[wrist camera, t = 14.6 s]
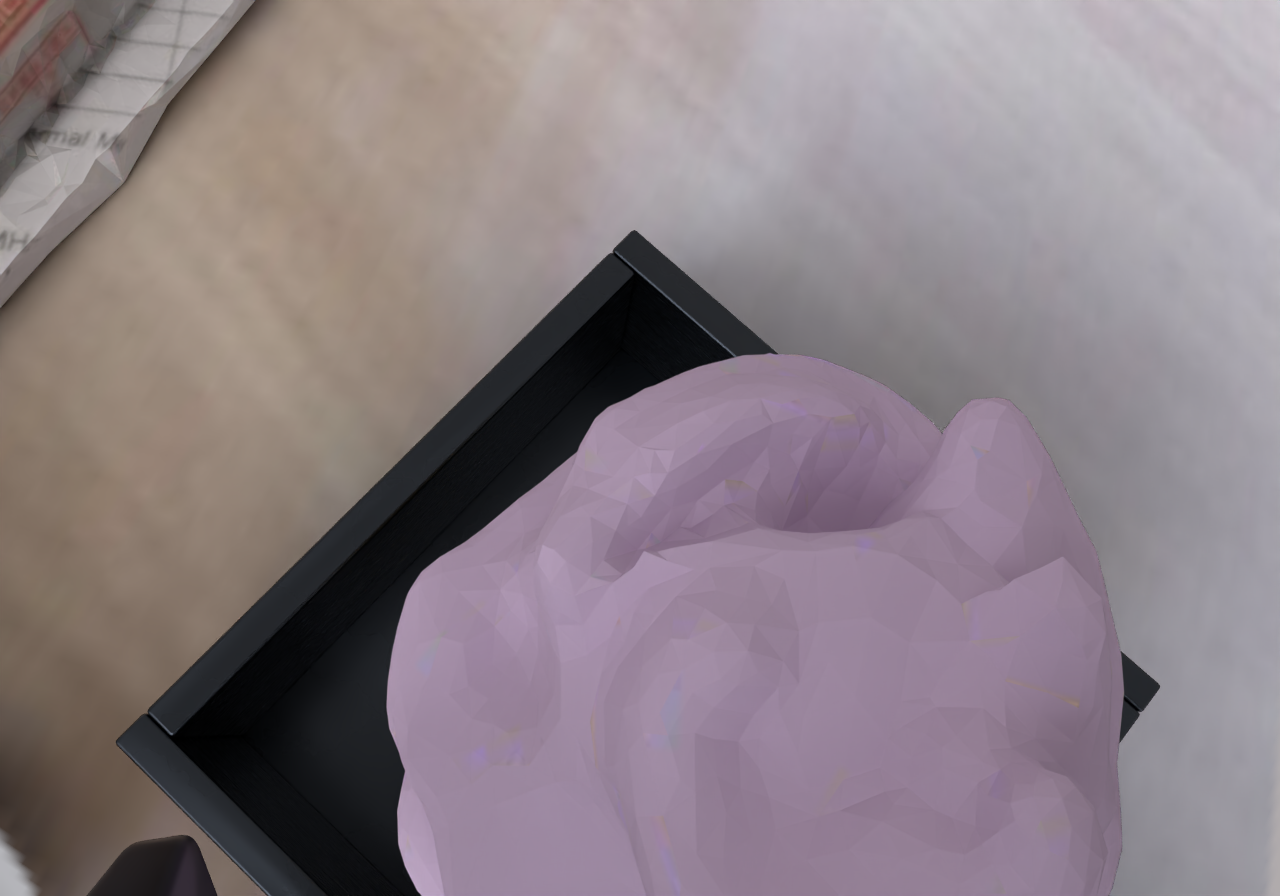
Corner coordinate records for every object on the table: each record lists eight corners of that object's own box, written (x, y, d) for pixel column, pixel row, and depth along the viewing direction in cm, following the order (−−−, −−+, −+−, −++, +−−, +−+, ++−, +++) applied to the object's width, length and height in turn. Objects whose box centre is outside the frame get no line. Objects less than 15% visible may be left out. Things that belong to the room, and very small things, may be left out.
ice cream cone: (648, 988, 20) (923, 1673, 5) (399, 753, 21) (45, 800, 6) (872, 704, 21) (1547, 645, 7) (634, 494, 22) (800, 43, 8)
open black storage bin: (663, 1193, 20) (695, 1326, 15) (203, 738, 21) (112, 742, 16) (1043, 694, 22) (1163, 685, 18) (618, 319, 24) (634, 226, 19)
